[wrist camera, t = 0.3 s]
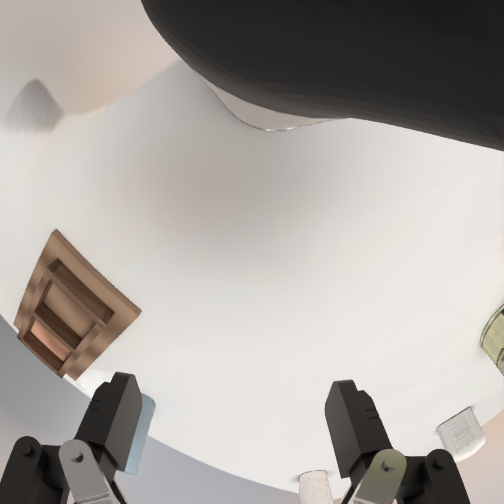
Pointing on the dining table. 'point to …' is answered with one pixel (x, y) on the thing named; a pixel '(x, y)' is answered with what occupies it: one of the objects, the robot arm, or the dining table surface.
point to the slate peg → (140, 435)
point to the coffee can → (495, 339)
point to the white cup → (315, 488)
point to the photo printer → (461, 435)
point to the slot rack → (70, 310)
